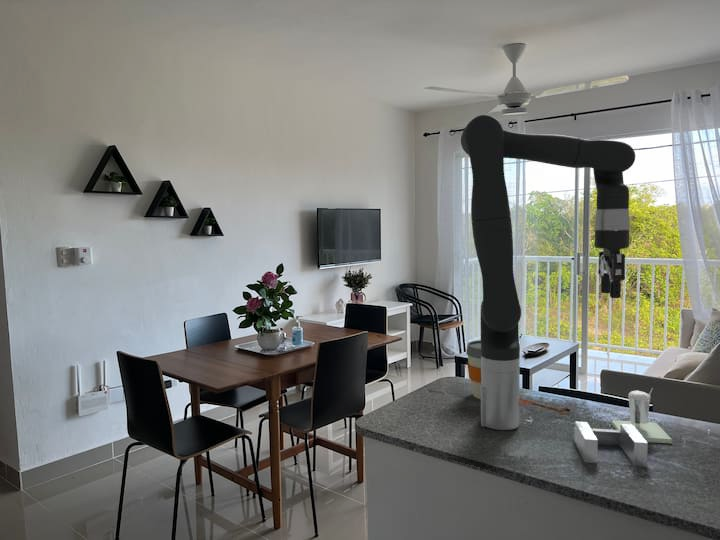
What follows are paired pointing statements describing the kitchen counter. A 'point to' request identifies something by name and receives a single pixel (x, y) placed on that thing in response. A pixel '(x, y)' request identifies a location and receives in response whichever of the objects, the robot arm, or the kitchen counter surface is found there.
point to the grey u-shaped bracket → (610, 442)
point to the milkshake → (639, 409)
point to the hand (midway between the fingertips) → (610, 295)
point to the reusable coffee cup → (474, 366)
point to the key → (527, 403)
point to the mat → (648, 432)
